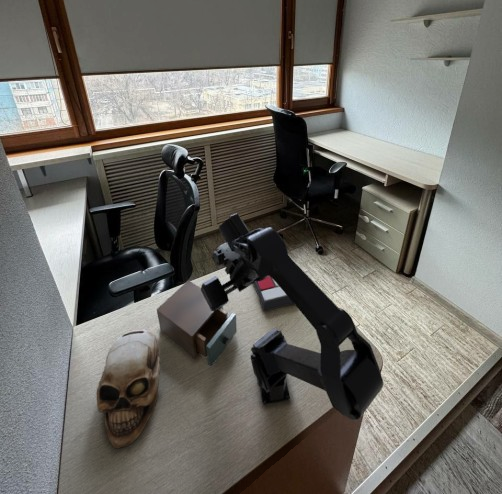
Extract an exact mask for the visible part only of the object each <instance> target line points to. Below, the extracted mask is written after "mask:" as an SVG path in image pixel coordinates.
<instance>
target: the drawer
mask: <svg viewBox="0 0 502 494" xmlns="http://www.w3.org/2000/svg"><path fill="white" fill-rule="evenodd" d="M236 334H237V314H236V313H235V312H231V314H230V315H229V316H228V311H226V310H225V309H224V308H223V309H221V308H219V309H217V310H216V312H215V313H214V314H213V315H212V316H211V317H210V319H209V320H208V321H207V322H206V323H205V324H204V326H203V327H202V328H201V329H200V330H199V331H198V333H197V334H196V335H195V344H196V351H197V352H199V353H200V354H199V355H201V356H202V357H203V358H204V359H206V358H207V359H206V360H207V365H208V366H209V367H210V368H212V367H213V366H214V364H215V363H216V361H217V360H218V359H219V357H220V356H221V355H222V353H223V352H224V350H225V349H226V348H227V346H228V345H229V344H230V342H231V340H233V338H234V336H235V335H236Z"/></svg>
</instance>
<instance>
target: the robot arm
mask: <svg viewBox="0 0 502 494" xmlns="http://www.w3.org/2000/svg"><path fill="white" fill-rule="evenodd" d="M218 231H219V232H220V233H221V235H222V237H223V239H224V240H225V243H222V244H221V245H219V246H218V247H217V248H215V251H213V253H212V261H213V262H214V263H215V265H216V266H217V267H220V266H225V269H224V272H225V273H226V275H227V276H228V275H229V280H227V282H225V283H223V284H222V282H221V281H220V279H219V277H217V275H215V276H212V277H211V278H209V279H208V280H206V281H204V282H202V284H201V286H200V288H201V291H202V293H203V295H204V297H205V299H206V301H207V303H208V305H209V307H210V309H211V311H216V310H217V309H219V308H220V307H222V306H223V307H224V306H226V304H228V303H229V302H230V300H229V295H230V294H231V293H232V292H234V291H236V290H237V291H238V292H239V293H241V292H242V291H245V289H247V288H248V287H250V286H252V285H254V283H255V282H258V281H262V280H263V279H265V278H267V277H268V276H271V277H272V278H273V279H274V280H275V282H276V283H277V284H278V285H279V286H280V288H281V289H282V290H283V291H284V292H285V294H286V295H287V296H288V297H289V298H290V300H291V301H292V302H293V305H294V306H295V307H296V308H297V310H299V312H300V313H301V314H302V315H303V317H304V318H305V319H306V320H307V321H308V322H309V324H310V325H311V326H312V327H313V329H314V330H315V333H316V336H317V338H318V341H319V344H320V352H317V351H314V350H311V349H307V348H304V347H300V346H296V345H293V344H289V343H288V342H287V339H286V337H285V335H284V334H283V331H282V330H278V329H276V328H272V329H271V330H270V331H268V333H266V334H265V335H263V336H262V337H261V338H260V339H258V340H257V341H256V342H255V343H253V344H252V347H250V351H251V352H252V354H251V355H250V362H251V367H252V371H253V374H254V376H255V378H256V381H257V383H256V384H257V386H258V388H259V389H260V395H261V396H260V397H261V401H262V404H263V405H271V404H276V403H281V402H282V403H283V402H287V401H289V400H290V399H291V394H290V391H289V386H288V382H287V375H288V376H291V377H293V378H295V379H298V380H300V381H303V382H305V383H306V384H309V385H311V386H314V387H316V388H318V389H320V390H322V391H324V392H325V393H326V394H327V397H328V400H329V402H330V404H331V406H332V408H333V409H335V410H337V411H338V412H339V413H340V414H341V415H342V416H344V417H346V418H348V419H350V420H352V421H359V420H360V419H361V418H362V416H363V415H364V413H365V412H366V411H367V410H368V408H369V407H370V405H371V404H372V402H374V400H375V399H376V398H377V396H378V395H379V393H380V392H381V390H382V389H383V387H384V379H383V377H382V374H381V369H380V366H379V364H378V361H377V358H376V356H375V353H374V350H373V347H372V345H371V344H370V342H368V341H367V340H366V339H365V338H364V337H363V336H362V335H361V334H359V333H358V331H357V328H356V325H355V322H354V320H353V319H352V316H351V315H350V314H349V312H347V311H346V310H345V309H343V308H341V307H339V306H337V305H336V304H335V302H333V301H332V299H330V297H329V296H328V295H327V294H326V293H325V292H324V291H323V290H322V289H321V288H320V287H319V286H318V285H317V283H315V282H314V281H313V279H311V277H309V275H307V274H306V272H305V271H304V270H303V269H302V268H301V267H300V266H299V265H298V264H297V263H296V262H295V261H294V259H292V257H291V256H290V254H289V251H288V247H287V243H286V242H285V241H284V239H283V238H282V237H281V235H280V234H279V232H277V230H275V228H273V227H271V226H269V227H264V228H262V227H261V228H260V227H258V228H255V229H254V230H251V231H250V230H249V227H248V226H247V225H246V224H245V222H244V221H243V219H242V217H241V216H240V215H239V213H234V214H231V215H230V216H229V217H228V218H227V219H225V220H224V221H223V222H222V223H221V224H220V225H218ZM347 339H348V340H350V342H351V345H352V348H353V349H343V350H342V351H341V348H340V346H341V345H342V344H343V343H344V342H345V341H346V340H347Z"/></svg>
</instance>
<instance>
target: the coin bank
mask: <svg viewBox="0 0 502 494" xmlns="http://www.w3.org/2000/svg"><path fill="white" fill-rule="evenodd" d="M106 355H107V356H106V359H105V364H104V365H105V366H104V369H103V371H102V373H101V376H100V378H99V381H98V385H97V388H96V407H97V408H96V409H97V411H98V412H99V413H104V426H105V432H106V435H107V436H106V437H107V439H108V440H109V442H110V443H111V446H112V447H113V448H114V449H120V448H124V447H127V446H130V445H131V444H132V443H133V442H134V441H135V440H136V439H137V438H139V436H140V435H141V434H142V431H143V430H144V428H145V427H146V426H147V424H148V421H149V419H150V416H151V415H152V413H153V412H154V408H155V406H156V403H157V401H158V395H159V382H160V371H161V353H160V345H159V342H158V338H157V336H156V335H155V334H154V333H153V332H152V331H150V330H148V329H133V330H129V331H126V332H124V333H123V334H122V335H120V336H119V337H118V338H117V339H116V340H115V341H114V342H113V343H112V345H111V347H110V348H109V350H108V352H107V354H106Z"/></svg>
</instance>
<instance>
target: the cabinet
mask: <svg viewBox="0 0 502 494" xmlns="http://www.w3.org/2000/svg"><path fill="white" fill-rule="evenodd" d="M220 308H221V309H223V310H224V306H222V307H220ZM215 312H216V311H211V309H210V307H209V305H208V303H207V301H206V299H205V297H204V295H203V293H202V291H201V286H199V285H197V284H196V283H194V282H192V281H191V280H189V279H188V280H187V281H186V282H185V283H184V284H183V285H182V286H180V287H179V288H178V289H177V290H176V291H174V293H173V294H172V295H171V296H169V297H168V298H167V299H166V300H165V301H164V302H162V304H161V305H160V306H159V307H158V308H156V314H157V320H158V324H159V325H158V326H159V330H160V333H162V334H163V335H164V336H165V337H166V338H168V339H169V340H170V341H171V342H172V343H174V344H175V345H177V346H178V347H179V348H180V349H181V350H182V351H184V352H185V353H186V354H187V355H188V356H190V357H191V358H192V359H194V360H196V359H197V358H198V356H199V355H201V354H200V353H199V352H197V351H196V344H195V335H196V334H197V333H198V331H199V330H200V329H201V328H202V327H203V326H204V324H205V323H206V322H207V321H208V320H209V319H210V317H211V316H212V315H213V314H214V313H215Z"/></svg>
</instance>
